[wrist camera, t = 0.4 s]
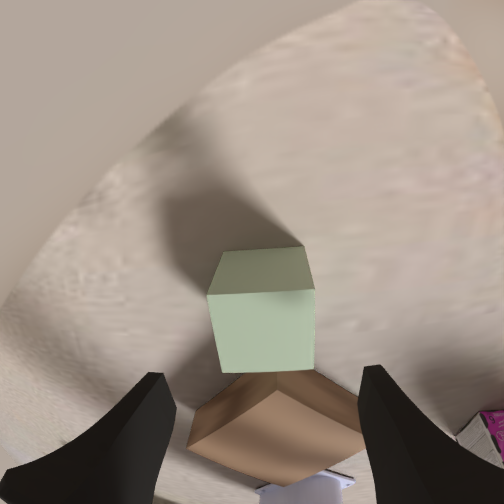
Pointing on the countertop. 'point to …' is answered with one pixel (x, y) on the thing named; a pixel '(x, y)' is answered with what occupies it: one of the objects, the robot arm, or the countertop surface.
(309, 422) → the walnut block
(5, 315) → the countertop surface
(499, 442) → the candy bar box
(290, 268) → the sage block
